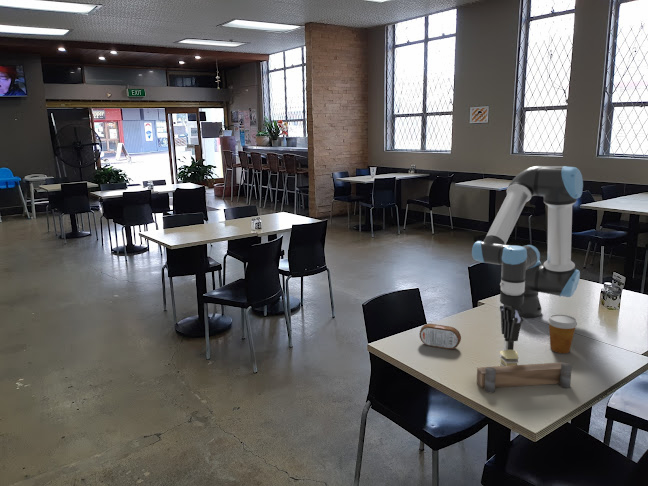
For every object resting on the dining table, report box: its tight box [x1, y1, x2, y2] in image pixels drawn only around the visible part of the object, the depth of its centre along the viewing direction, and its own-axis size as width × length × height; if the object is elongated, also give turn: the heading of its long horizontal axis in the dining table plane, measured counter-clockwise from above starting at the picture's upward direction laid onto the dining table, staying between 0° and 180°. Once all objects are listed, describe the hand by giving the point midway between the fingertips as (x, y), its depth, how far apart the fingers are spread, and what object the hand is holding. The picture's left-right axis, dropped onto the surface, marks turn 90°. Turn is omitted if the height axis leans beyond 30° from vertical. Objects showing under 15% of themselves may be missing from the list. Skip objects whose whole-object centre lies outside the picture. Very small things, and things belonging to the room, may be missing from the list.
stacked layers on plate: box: [498, 349, 519, 366], centre depth 165 cm, size 10×9×6 cm
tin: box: [418, 323, 462, 350], centre depth 183 cm, size 15×3×8 cm, turn 65°
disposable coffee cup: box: [547, 313, 578, 354], centre depth 177 cm, size 10×10×12 cm
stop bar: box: [476, 361, 573, 394], centre depth 154 cm, size 7×28×7 cm, turn 94°
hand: (508, 356), depth 171 cm, fingers closed
